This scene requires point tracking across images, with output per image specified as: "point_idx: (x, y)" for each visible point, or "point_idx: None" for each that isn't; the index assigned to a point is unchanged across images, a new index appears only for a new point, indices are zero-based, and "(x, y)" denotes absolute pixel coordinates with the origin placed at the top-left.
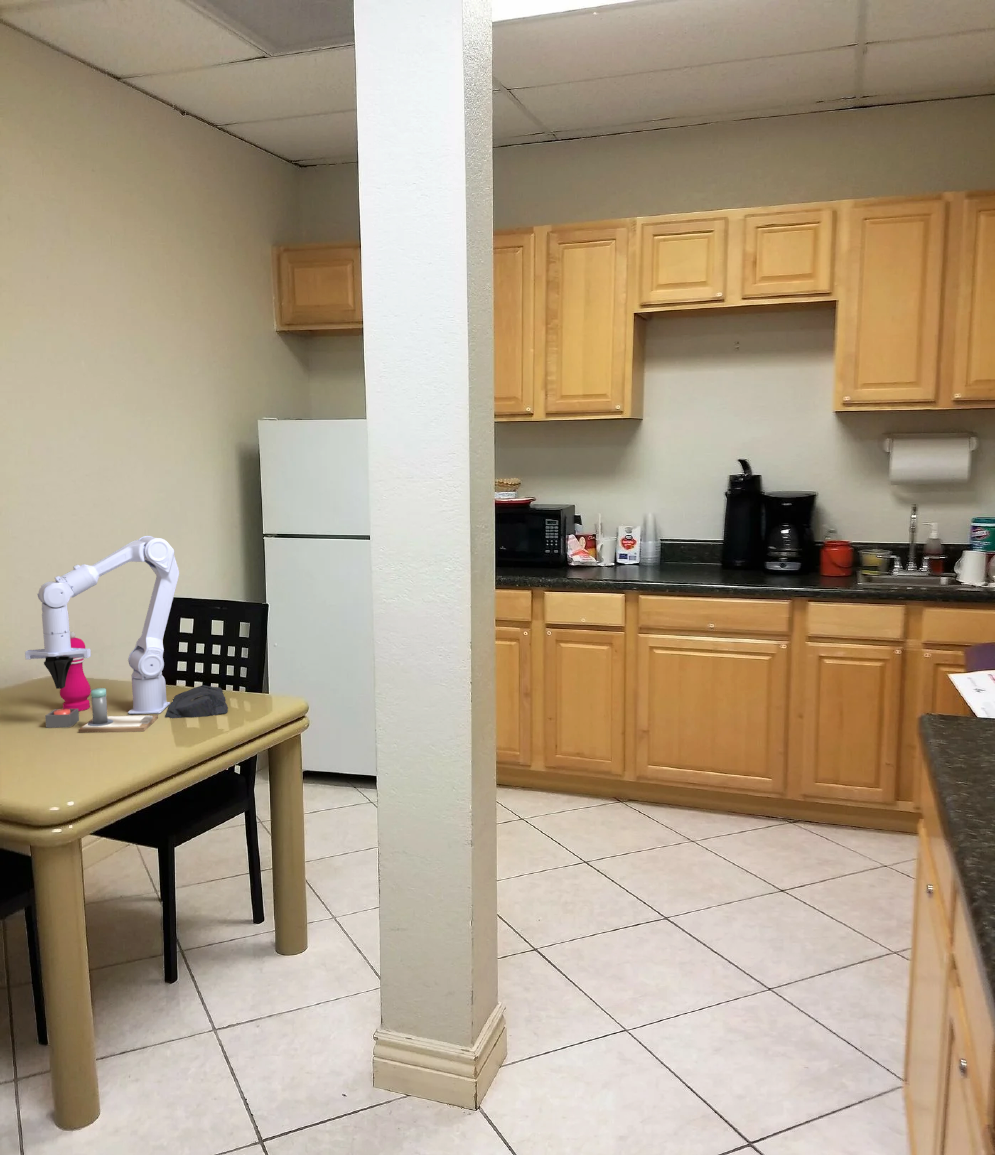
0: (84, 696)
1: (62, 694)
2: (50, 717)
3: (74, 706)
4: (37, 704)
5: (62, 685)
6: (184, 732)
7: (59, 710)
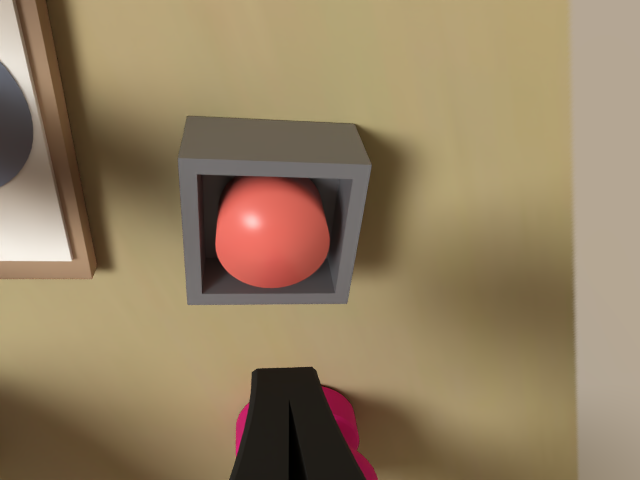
0: None
1: None
2: (330, 155)
3: None
4: (478, 460)
5: (249, 404)
6: None
7: (296, 256)
